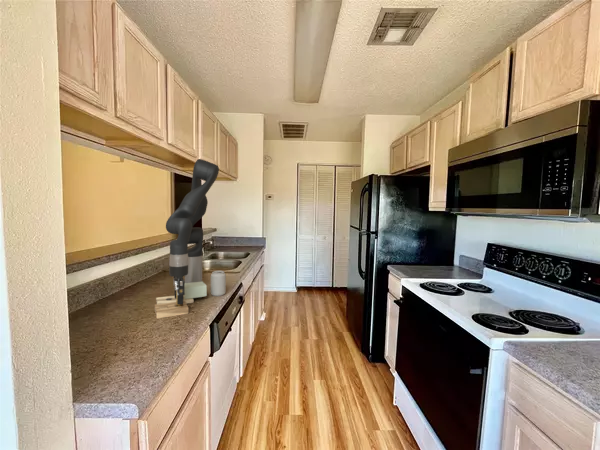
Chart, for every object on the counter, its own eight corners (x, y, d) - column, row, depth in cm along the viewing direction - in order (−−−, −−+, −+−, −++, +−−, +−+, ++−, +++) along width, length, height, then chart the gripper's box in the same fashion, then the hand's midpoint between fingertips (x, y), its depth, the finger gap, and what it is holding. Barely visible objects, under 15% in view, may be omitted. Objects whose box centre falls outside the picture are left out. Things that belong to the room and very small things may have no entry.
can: (227, 292, 148) (227, 270, 148) (222, 297, 141) (222, 273, 140) (214, 291, 149) (214, 269, 148) (208, 296, 142) (208, 272, 141)
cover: (181, 294, 138) (181, 283, 137) (202, 291, 143) (202, 281, 142) (184, 299, 131) (184, 287, 130) (206, 296, 136) (206, 285, 136)
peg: (176, 310, 121) (176, 290, 121) (181, 309, 123) (181, 289, 122) (176, 312, 120) (176, 291, 119) (182, 311, 121) (182, 290, 120)
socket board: (154, 310, 121) (154, 304, 121) (184, 306, 127) (184, 300, 127) (156, 318, 112) (156, 312, 112) (188, 313, 119) (188, 307, 118)
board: (156, 300, 133) (156, 292, 132) (189, 296, 140) (189, 288, 140) (158, 307, 124) (157, 298, 124) (193, 302, 132) (193, 294, 132)
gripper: (191, 266, 116) (191, 304, 117) (185, 260, 128) (185, 295, 129) (171, 268, 112) (171, 307, 113) (167, 261, 124) (167, 297, 125)
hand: (178, 301), depth 121 cm, fingers open, 8 cm apart
